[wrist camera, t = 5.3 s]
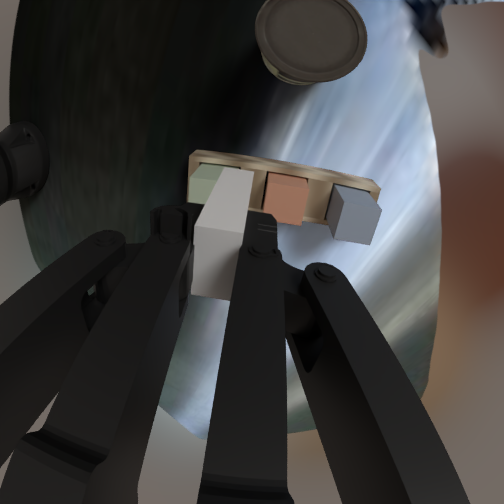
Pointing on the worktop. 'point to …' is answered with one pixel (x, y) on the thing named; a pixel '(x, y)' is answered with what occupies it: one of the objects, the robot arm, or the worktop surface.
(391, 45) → the worktop surface
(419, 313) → the worktop surface
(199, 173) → the sage block
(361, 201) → the slate block
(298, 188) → the terracotta block
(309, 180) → the socket rail
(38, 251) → the worktop surface
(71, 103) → the worktop surface
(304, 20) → the coffee can
